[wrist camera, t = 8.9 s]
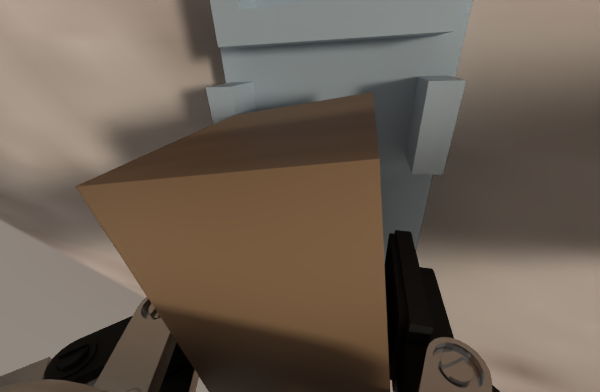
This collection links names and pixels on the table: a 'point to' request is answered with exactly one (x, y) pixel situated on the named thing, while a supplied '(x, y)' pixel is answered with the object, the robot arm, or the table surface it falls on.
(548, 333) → the table surface
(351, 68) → the jig
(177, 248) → the brown tabbed block
